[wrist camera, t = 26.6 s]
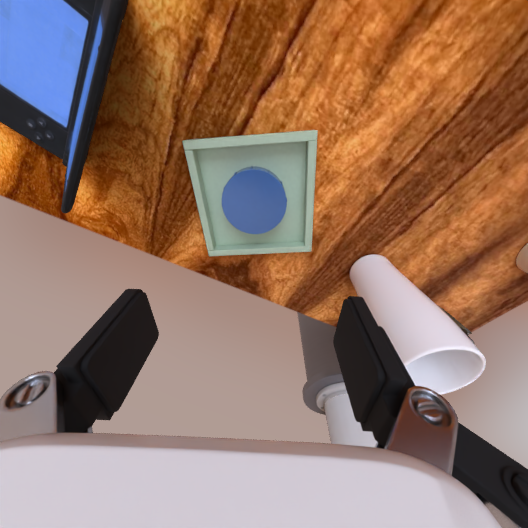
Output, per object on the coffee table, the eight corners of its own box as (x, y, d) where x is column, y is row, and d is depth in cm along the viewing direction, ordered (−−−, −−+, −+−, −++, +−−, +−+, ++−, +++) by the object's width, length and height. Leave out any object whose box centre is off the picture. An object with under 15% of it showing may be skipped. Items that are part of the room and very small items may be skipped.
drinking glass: (332, 270, 31) (377, 375, 18) (375, 237, 28) (464, 333, 15) (362, 296, 33) (419, 405, 20) (404, 268, 30) (502, 373, 17)
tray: (309, 244, 28) (311, 251, 27) (212, 249, 29) (208, 256, 28) (314, 129, 22) (317, 130, 20) (188, 139, 23) (182, 140, 21)
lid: (228, 159, 23) (224, 162, 21) (292, 173, 24) (294, 177, 22) (221, 221, 27) (218, 228, 25) (278, 232, 27) (278, 239, 26)
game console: (-6, -132, 14) (-313, -416, 7) (185, 40, 19) (127, -16, 11) (-17, 104, 21) (-176, 93, 14) (125, 191, 25) (63, 221, 18)
